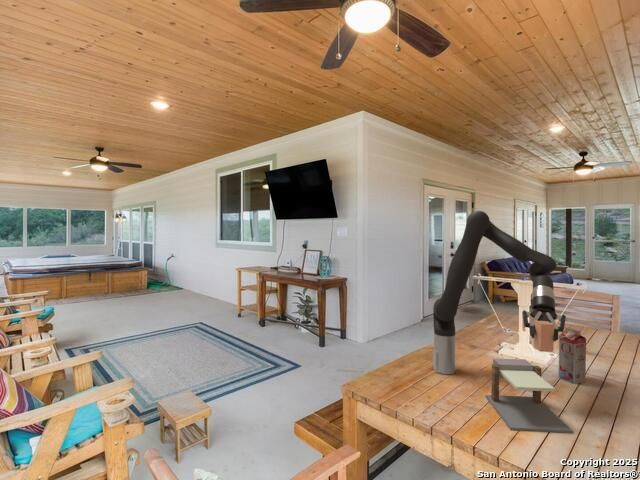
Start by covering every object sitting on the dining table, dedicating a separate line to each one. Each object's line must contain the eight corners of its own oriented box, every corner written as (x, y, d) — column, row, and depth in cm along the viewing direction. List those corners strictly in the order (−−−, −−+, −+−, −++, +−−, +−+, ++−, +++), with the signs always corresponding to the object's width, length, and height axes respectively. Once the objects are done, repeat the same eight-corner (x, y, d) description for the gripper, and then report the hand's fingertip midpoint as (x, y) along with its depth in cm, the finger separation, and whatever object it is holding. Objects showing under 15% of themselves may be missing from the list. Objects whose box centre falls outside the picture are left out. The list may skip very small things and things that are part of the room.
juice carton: (573, 383, 144) (574, 332, 143) (558, 377, 150) (559, 327, 150) (585, 381, 146) (586, 330, 145) (570, 375, 152) (571, 326, 151)
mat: (510, 429, 112) (510, 427, 112) (485, 396, 134) (485, 394, 134) (573, 433, 110) (573, 430, 110) (537, 399, 132) (537, 396, 132)
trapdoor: (492, 371, 135) (493, 358, 135) (525, 372, 134) (525, 359, 134) (516, 395, 115) (516, 381, 115) (554, 397, 114) (554, 382, 114)
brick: (540, 351, 124) (541, 324, 124) (533, 347, 129) (534, 320, 128) (553, 351, 124) (554, 324, 123) (546, 347, 128) (547, 320, 128)
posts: (493, 403, 128) (494, 366, 128) (491, 400, 131) (491, 364, 130) (541, 405, 127) (541, 368, 126) (537, 402, 129) (538, 365, 129)
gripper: (522, 292, 135) (521, 330, 126) (566, 296, 128) (569, 336, 119) (521, 303, 140) (520, 340, 131) (564, 307, 133) (567, 347, 123)
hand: (543, 338), depth 125 cm, fingers closed on brick, 6 cm apart
